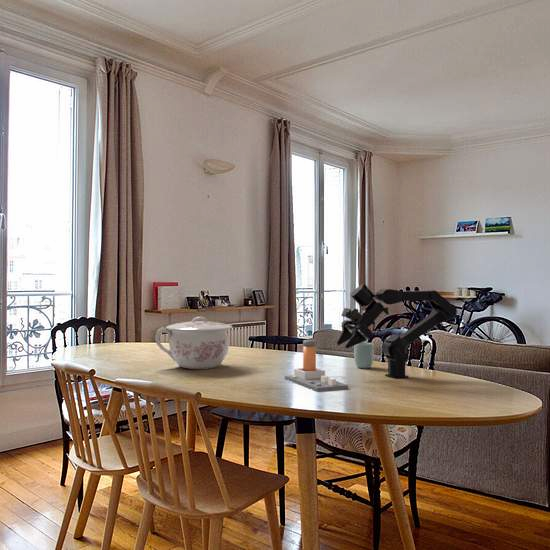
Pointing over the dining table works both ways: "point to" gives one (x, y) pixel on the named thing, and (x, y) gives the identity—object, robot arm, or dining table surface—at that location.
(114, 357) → the dining table surface
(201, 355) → the chamber pot
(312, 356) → the capped spray can
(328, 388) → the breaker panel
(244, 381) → the dining table surface
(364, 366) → the cup
